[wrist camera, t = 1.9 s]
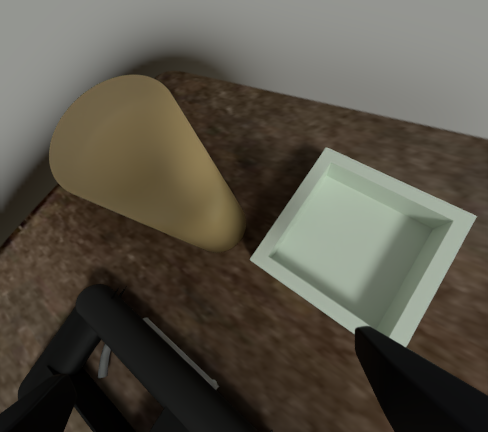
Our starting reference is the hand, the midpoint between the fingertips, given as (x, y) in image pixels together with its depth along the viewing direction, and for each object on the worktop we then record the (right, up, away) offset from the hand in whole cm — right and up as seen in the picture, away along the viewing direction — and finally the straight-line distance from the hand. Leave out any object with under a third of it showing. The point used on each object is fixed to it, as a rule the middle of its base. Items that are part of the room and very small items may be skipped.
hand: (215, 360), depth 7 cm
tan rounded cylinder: (-2, +4, +15) cm, 15 cm away
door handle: (-8, -12, +12) cm, 19 cm away
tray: (+9, +2, +12) cm, 15 cm away
